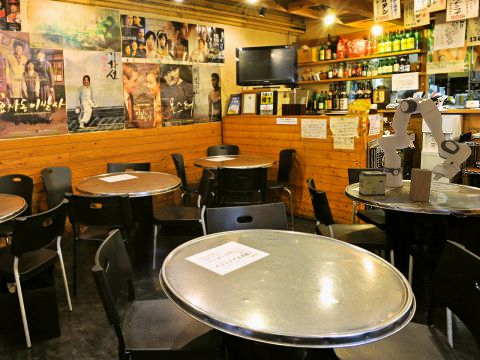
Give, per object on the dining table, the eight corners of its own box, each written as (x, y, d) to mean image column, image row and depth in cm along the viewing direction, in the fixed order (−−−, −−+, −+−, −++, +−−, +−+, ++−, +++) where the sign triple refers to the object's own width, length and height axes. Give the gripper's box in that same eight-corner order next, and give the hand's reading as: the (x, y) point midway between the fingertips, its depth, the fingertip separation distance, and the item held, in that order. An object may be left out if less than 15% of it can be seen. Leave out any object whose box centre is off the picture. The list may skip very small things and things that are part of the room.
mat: (374, 198, 282) (374, 198, 282) (405, 198, 284) (405, 197, 284) (382, 203, 270) (382, 202, 269) (415, 202, 272) (415, 202, 271)
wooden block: (424, 198, 283) (427, 168, 279) (429, 201, 273) (432, 171, 269) (408, 197, 284) (411, 168, 280) (413, 201, 274) (416, 170, 270)
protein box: (358, 193, 299) (359, 171, 296) (379, 192, 301) (380, 171, 298) (363, 196, 289) (364, 173, 286) (385, 196, 290) (387, 173, 288)
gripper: (438, 159, 286) (423, 173, 287) (456, 163, 266) (440, 179, 266) (444, 165, 287) (429, 180, 288) (462, 170, 267) (446, 186, 268)
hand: (434, 179), depth 277 cm, fingers closed
